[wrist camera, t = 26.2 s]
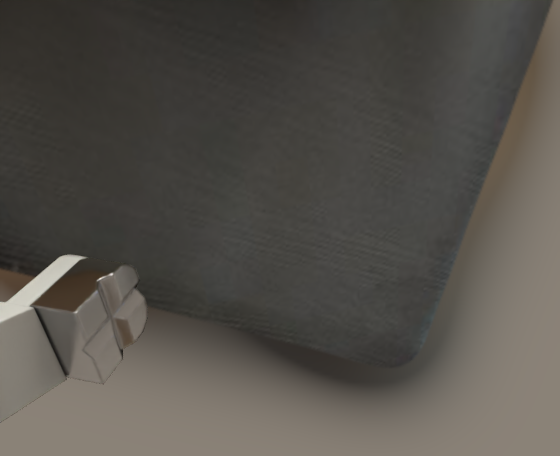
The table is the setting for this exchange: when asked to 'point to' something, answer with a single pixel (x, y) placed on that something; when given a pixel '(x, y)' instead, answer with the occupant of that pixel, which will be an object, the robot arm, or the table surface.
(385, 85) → the table surface
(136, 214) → the table surface
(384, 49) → the table surface
